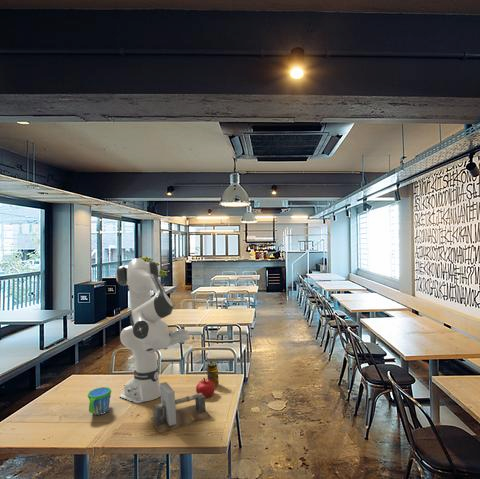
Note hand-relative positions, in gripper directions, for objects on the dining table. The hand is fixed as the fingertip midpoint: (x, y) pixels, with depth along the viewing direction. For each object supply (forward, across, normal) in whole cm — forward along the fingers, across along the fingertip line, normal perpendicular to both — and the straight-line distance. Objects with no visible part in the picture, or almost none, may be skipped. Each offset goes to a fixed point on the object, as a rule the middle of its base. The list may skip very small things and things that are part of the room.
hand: (175, 344), depth 166 cm
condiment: (+46, +3, +13) cm, 48 cm away
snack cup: (+11, +50, +16) cm, 53 cm away
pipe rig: (+14, +10, +29) cm, 34 cm away
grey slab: (+10, +13, +28) cm, 33 cm away
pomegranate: (+37, +4, +19) cm, 41 cm away
